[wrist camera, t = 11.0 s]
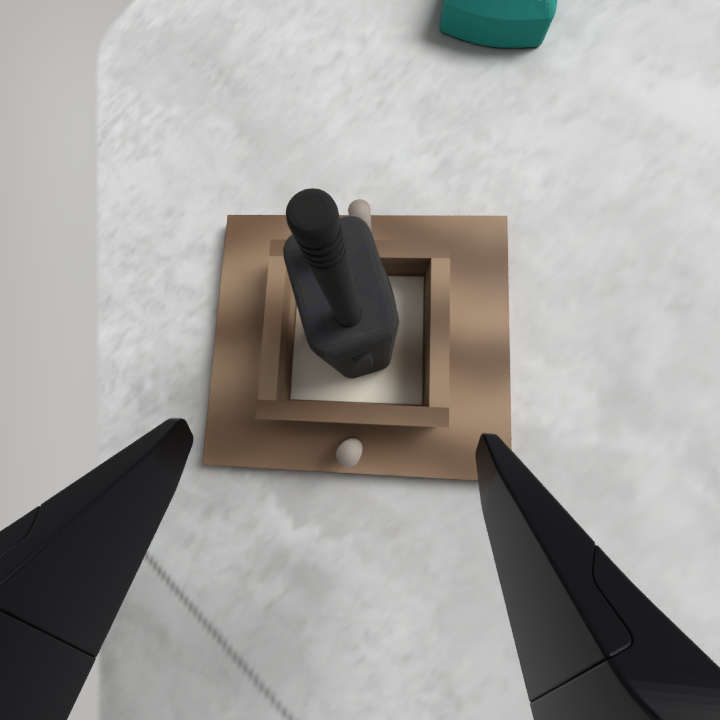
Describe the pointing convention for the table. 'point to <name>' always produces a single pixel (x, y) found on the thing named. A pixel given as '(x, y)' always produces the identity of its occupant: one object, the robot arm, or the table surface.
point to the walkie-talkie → (339, 286)
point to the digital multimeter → (498, 21)
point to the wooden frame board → (375, 390)
